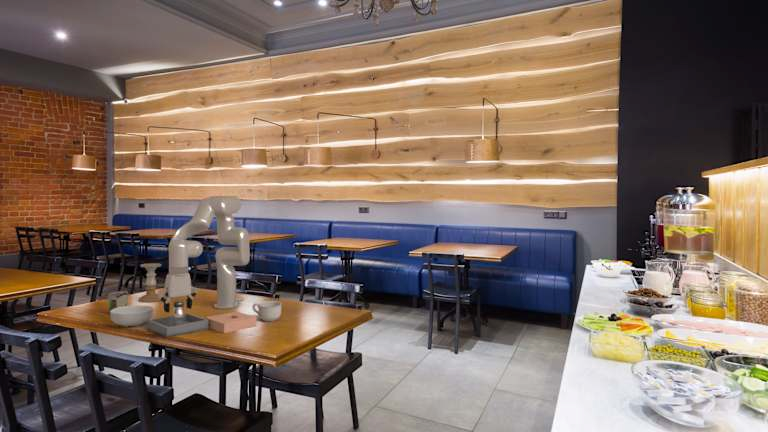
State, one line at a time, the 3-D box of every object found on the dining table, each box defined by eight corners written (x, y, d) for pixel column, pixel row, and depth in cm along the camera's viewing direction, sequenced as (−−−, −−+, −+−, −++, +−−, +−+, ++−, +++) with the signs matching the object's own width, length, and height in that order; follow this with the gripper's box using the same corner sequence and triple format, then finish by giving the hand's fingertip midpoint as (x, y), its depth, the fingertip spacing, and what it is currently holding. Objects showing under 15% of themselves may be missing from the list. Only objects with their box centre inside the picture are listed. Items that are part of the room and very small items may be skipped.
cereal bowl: (122, 332, 189) (122, 315, 189) (102, 325, 198) (102, 310, 198) (161, 323, 204) (161, 308, 203) (140, 318, 212) (140, 303, 212)
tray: (187, 321, 207) (187, 313, 207) (208, 328, 196) (208, 319, 196) (147, 329, 193) (147, 320, 193) (166, 337, 182) (167, 328, 182)
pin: (180, 325, 198) (180, 300, 197) (185, 326, 195) (185, 301, 195) (171, 326, 194) (171, 301, 194) (176, 328, 192) (176, 303, 192)
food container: (115, 310, 226) (115, 290, 226) (128, 310, 227) (128, 290, 226) (102, 316, 214) (102, 295, 214) (115, 316, 214) (115, 295, 214)
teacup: (285, 318, 217) (285, 302, 216) (273, 323, 206) (273, 306, 206) (261, 315, 221) (261, 299, 221) (247, 320, 211) (247, 303, 211)
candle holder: (133, 301, 246) (133, 265, 246) (148, 297, 259) (148, 262, 258) (153, 303, 244) (153, 266, 244) (167, 298, 257) (168, 263, 256)
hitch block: (236, 319, 212) (236, 311, 212) (256, 325, 202) (256, 317, 202) (204, 326, 200) (204, 317, 200) (224, 333, 190) (224, 323, 190)
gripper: (193, 268, 203) (193, 305, 204) (154, 271, 190) (153, 312, 190) (201, 269, 198) (201, 308, 199) (162, 273, 185) (162, 315, 185)
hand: (178, 310), depth 195 cm, fingers open, 9 cm apart
